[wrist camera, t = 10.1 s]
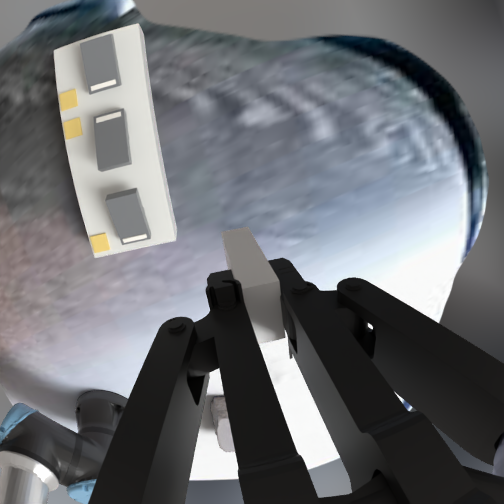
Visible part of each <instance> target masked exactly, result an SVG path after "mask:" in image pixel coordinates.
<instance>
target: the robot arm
mask: <svg viewBox="0 0 504 504" xmlns="http://www.w3.org/2000/svg"><path fill="white" fill-rule="evenodd" d="M221 234H222V239H223V245H224V250H225V255H226V261H227V266H228V270H225V271H220V272H215V273H211V274H210V275H209V277H208V278H207V284H208V286H207V287H206V295H207V299H208V303H209V307H210V312H209V314H208V315H207V316H205V317H204V318H203V319H201V320H199V321H196V322H193V321H192V320H191V319H190V318H187V317H175V318H172V319H170V320H167V321H166V322H165V323H163V324H162V325H161V327H160V328H159V330H158V333H157V335H156V337H155V339H154V341H153V344H152V346H151V348H150V350H149V353H148V355H147V357H146V359H145V362H144V364H143V366H142V368H141V371H140V373H139V375H138V378H137V380H136V382H135V385H134V387H133V389H132V392H131V394H130V396H129V399H127V398H125V397H123V396H121V395H118V394H115V393H112V392H108V391H90V392H86V393H84V394H83V395H81V396H80V397H79V399H78V401H77V405H76V410H75V413H76V420H77V427H78V433H76V432H74V431H72V430H70V429H68V428H66V427H64V426H62V425H60V424H59V423H57V422H55V421H53V420H51V419H50V418H48V417H46V416H44V415H43V414H41V413H39V411H38V410H34V409H32V408H30V407H29V406H27V405H25V404H23V403H17V404H15V405H14V406H13V407H12V408H11V409H10V411H9V412H8V414H7V415H6V417H5V419H4V420H3V422H2V424H1V427H0V467H1V469H2V472H1V476H0V504H47V500H48V494H49V492H50V491H53V490H55V489H57V488H58V486H59V484H61V485H64V486H66V487H67V492H68V495H69V496H70V497H71V498H73V499H74V500H75V501H78V502H80V503H83V504H185V499H186V494H187V488H188V483H189V478H190V473H191V468H192V463H193V457H194V452H195V447H196V442H197V437H198V432H199V427H200V422H201V417H202V412H203V407H204V402H205V397H206V392H207V387H208V383H209V378H210V377H209V372H212V371H214V370H216V369H218V368H220V374H221V380H222V386H223V391H224V397H225V402H226V407H227V413H228V418H229V423H230V428H231V433H232V438H233V443H234V448H235V453H236V458H237V462H238V477H239V482H240V487H241V491H242V495H243V500H244V504H504V363H502V362H500V361H499V360H497V359H496V358H494V357H493V356H491V355H489V354H488V353H486V352H485V351H483V350H481V349H480V348H478V347H477V346H475V345H473V344H472V343H470V342H468V341H467V340H465V339H464V338H462V337H460V336H459V335H457V334H455V333H454V332H452V331H451V330H449V329H447V328H446V327H444V326H442V325H441V324H439V323H437V322H436V321H434V320H432V319H431V318H429V317H427V316H426V315H424V314H422V313H421V312H419V311H417V310H416V309H414V308H412V307H411V306H409V305H407V304H406V303H404V302H402V301H400V300H399V299H397V298H395V297H394V296H392V295H390V294H388V293H387V292H385V291H383V290H382V289H380V288H378V287H376V286H375V285H373V284H371V283H369V282H368V281H366V280H363V279H361V278H355V277H353V278H347V279H343V280H342V281H340V282H339V283H338V284H337V290H333V291H320V290H319V289H318V288H317V287H316V285H314V284H313V283H311V282H308V281H304V279H303V278H302V277H301V275H300V274H299V273H298V271H297V270H296V269H295V267H294V266H293V264H292V263H291V262H290V261H289V260H287V259H285V258H279V259H274V260H269V261H268V260H267V259H266V257H265V255H264V254H263V252H262V250H261V248H260V247H259V245H258V243H257V242H256V240H255V238H254V236H253V235H252V233H251V231H250V230H249V228H248V227H244V228H239V229H234V230H229V231H224V232H221ZM368 323H369V324H371V325H372V326H373V330H372V329H370V328H369V327H368ZM284 328H285V329H284ZM285 330H286V332H287V335H288V345H289V355H290V359H291V358H293V357H292V354H293V356H294V358H295V360H296V362H297V364H298V367H299V369H300V371H301V373H302V375H303V377H304V380H305V382H306V384H307V386H308V388H309V390H310V393H311V395H312V397H313V399H314V401H315V404H316V406H317V408H318V410H319V412H320V414H321V417H322V419H323V421H324V423H325V425H326V427H327V430H328V432H329V434H330V436H331V438H332V440H333V442H334V445H335V447H336V449H337V451H338V453H339V455H340V458H341V460H342V462H343V464H344V466H345V468H346V470H347V473H348V475H349V478H350V482H351V489H352V492H353V493H350V494H347V495H340V496H332V497H324V498H318V496H317V493H316V491H315V488H314V485H313V483H312V480H311V478H310V475H309V472H308V470H307V467H306V465H305V462H304V460H303V458H302V457H301V455H299V454H298V453H297V450H296V448H295V445H294V442H293V440H292V437H291V434H290V431H289V429H288V426H287V423H286V420H285V418H284V415H283V412H282V409H281V406H280V404H279V401H278V398H277V395H276V392H275V390H274V387H273V384H272V381H271V378H270V375H269V373H268V370H267V367H266V364H265V361H264V358H263V355H262V352H261V350H260V347H259V344H261V343H266V342H270V341H274V340H278V339H282V338H285ZM395 392H396V393H397V394H398V395H399V396H400V397H401V398H403V399H404V400H405V401H406V402H407V403H409V404H410V405H411V406H412V407H413V408H415V409H416V410H417V411H415V412H409V411H408V410H407V409H406V408H405V406H404V405H403V404H402V402H401V401H400V399H399V398H398V397H397V395H396V394H395ZM432 423H433V424H434V425H435V426H436V427H437V428H439V429H440V430H441V431H442V432H443V433H445V434H446V435H447V436H448V437H449V438H451V439H452V440H453V441H454V442H456V443H457V444H458V445H459V446H460V447H462V448H463V449H464V450H466V451H467V452H469V453H470V454H471V455H472V456H474V457H476V458H478V459H480V460H481V461H483V462H485V463H487V464H490V465H493V466H494V469H493V471H492V474H489V473H486V472H482V471H479V470H475V469H472V468H468V467H465V466H462V465H461V464H460V462H459V461H458V459H457V458H456V457H455V455H454V454H453V452H452V451H451V450H450V448H449V447H448V445H447V444H446V443H445V441H444V440H443V438H442V437H441V436H440V434H439V433H438V431H437V430H436V429H435V427H434V426H433V425H432Z"/></svg>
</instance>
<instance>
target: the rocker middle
mask: <svg viewBox="0 0 504 504" xmlns="http://www.w3.org/2000/svg"><path fill="white" fill-rule="evenodd" d="M93 119H94V134H95V146H96V157H97V166H98V170H99V171H101V172H104V171H107V170H111V169H115V168H119V167H123V166H127V165H131V164H132V160H131V152H130V143H129V135H128V125H127V115H126V111H125V110H124V108H122V109H119V110H115V111H111V112H108V113H104V114H101V115H98V116H94V117H93Z"/></svg>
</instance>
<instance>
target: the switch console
mask: <svg viewBox="0 0 504 504" xmlns="http://www.w3.org/2000/svg"><path fill="white" fill-rule="evenodd" d="M108 34H113V36H114V43H115V49H116V55H117V61H118V67H119V72H120V78H121V83H122V85H120V86H118V87H114V88H111V89H107V90H104V91H100V92H97V93H94V94H91V95H89V90H88V85H87V81H86V76H85V70H84V65H83V60H82V54H81V48H80V43H83V42H86V41H89V40H92V39H95V38H98V37H101V36H105V35H108ZM54 61H55V73H56V83H57V91H58V99H59V107H60V114H61V120H62V126H63V132H64V138H65V143H66V149H67V154H68V159H69V163H70V168H71V173H72V177H73V181H74V186H75V190H76V194H77V198H78V202H79V205H80V209H81V213H82V217H83V220H84V224H85V227H86V231H87V234H88V237H89V241H90V244H91V247H92V250H93V253H94V256H95V258H98V257H102V256H107V255H111V254H116V253H120V252H125V251H129V250H134V249H139V248H143V247H148V246H153V245H157V244H162V243H167V242H172V241H176V234H177V227H176V222H175V218H174V213H173V209H172V204H171V199H170V194H169V190H168V185H167V180H166V175H165V169H164V164H163V159H162V154H161V148H160V142H159V137H158V131H157V125H156V119H155V113H154V107H153V100H152V94H151V87H150V80H149V73H148V66H147V58H146V50H145V41H144V33H143V31H142V29H141V27H140V25H139V23H138V24H134V25H130V26H126V27H122V28H119V29H115V30H112V31H108V32H105V33H102V34H98V35H95V36H92V37H89V38H86V39H83V40H80V41H77V42H75V43H72V44H69V45H66V46H64V47H61V48H59V49H56V50H54ZM122 108H124V110H125V111H126V115H127V125H128V135H129V143H130V152H131V160H132V164H131V165H127V166H123V167H119V168H115V169H111V170H107V171H104V172H101V171H99V170H98V166H97V157H96V146H95V134H94V119H93V117H94V116H98V115H101V114H104V113H108V112H111V111H115V110H119V109H122ZM133 188H137V189H138V192H139V196H140V199H141V202H142V206H143V209H144V212H145V215H146V218H147V221H148V225H149V228H150V231H151V239H148V240H144V241H139V242H134V243H130V244H125V245H122V243H121V241H120V238H119V236H118V233H117V231H116V228H115V226H114V223H113V221H112V218H111V215H110V213H109V210H108V207H107V205H106V202H105V199H106V196H107V195H108V194H112V193H116V192H120V191H124V190H128V189H133Z"/></svg>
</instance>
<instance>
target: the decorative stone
mask: <svg viewBox="0 0 504 504" xmlns="http://www.w3.org/2000/svg"><path fill="white" fill-rule="evenodd" d="M211 412H212V415H213V423H214V426H215V433H216V435H217V439H218V443H219V446H220V448H221V449H223V450H224V451H225V452H234V451H235V448H234V443H233V438H232V433H231V428H230V423H229V418H228V413H227V407H226V402H225V397H224V396H221V397H219V396H218V397H214V399H213V401H212V402H211Z"/></svg>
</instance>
